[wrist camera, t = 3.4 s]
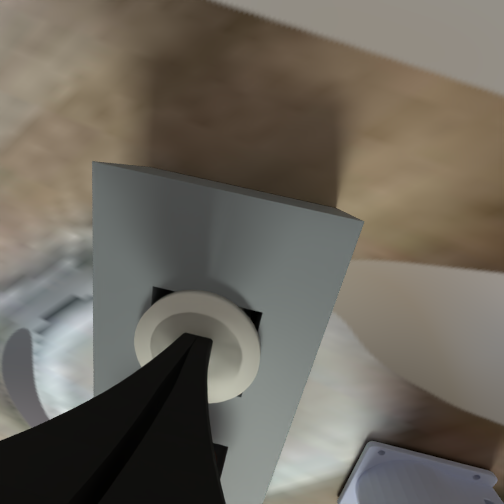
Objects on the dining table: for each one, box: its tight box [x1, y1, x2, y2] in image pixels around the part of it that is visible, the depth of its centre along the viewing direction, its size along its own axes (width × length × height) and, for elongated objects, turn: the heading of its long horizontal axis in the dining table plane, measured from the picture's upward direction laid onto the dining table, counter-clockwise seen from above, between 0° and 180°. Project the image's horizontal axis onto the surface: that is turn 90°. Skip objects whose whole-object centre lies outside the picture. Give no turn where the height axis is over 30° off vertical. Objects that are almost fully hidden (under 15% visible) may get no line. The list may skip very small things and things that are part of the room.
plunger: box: [134, 290, 261, 403], centre depth 13 cm, size 6×6×4 cm
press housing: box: [92, 161, 364, 504], centre depth 15 cm, size 24×11×4 cm, turn 168°
